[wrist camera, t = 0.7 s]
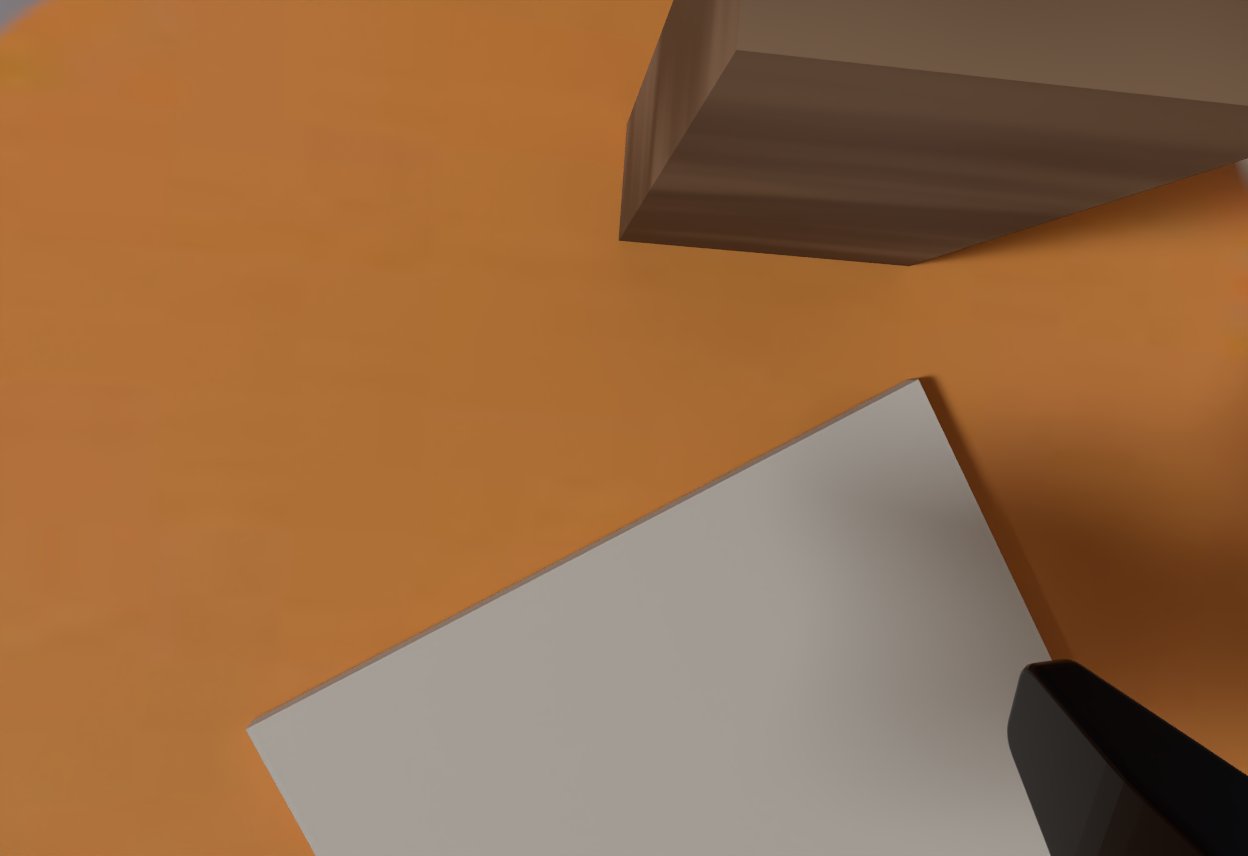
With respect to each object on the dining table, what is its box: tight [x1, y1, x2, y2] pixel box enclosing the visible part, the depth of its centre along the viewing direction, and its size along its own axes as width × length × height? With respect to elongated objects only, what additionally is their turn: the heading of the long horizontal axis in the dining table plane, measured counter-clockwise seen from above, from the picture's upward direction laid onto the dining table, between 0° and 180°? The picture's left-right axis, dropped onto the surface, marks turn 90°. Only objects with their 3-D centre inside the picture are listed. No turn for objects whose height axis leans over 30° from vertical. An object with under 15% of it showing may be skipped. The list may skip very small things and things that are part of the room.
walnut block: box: [619, 0, 1248, 266], centre depth 15 cm, size 2×6×12 cm, turn 86°
